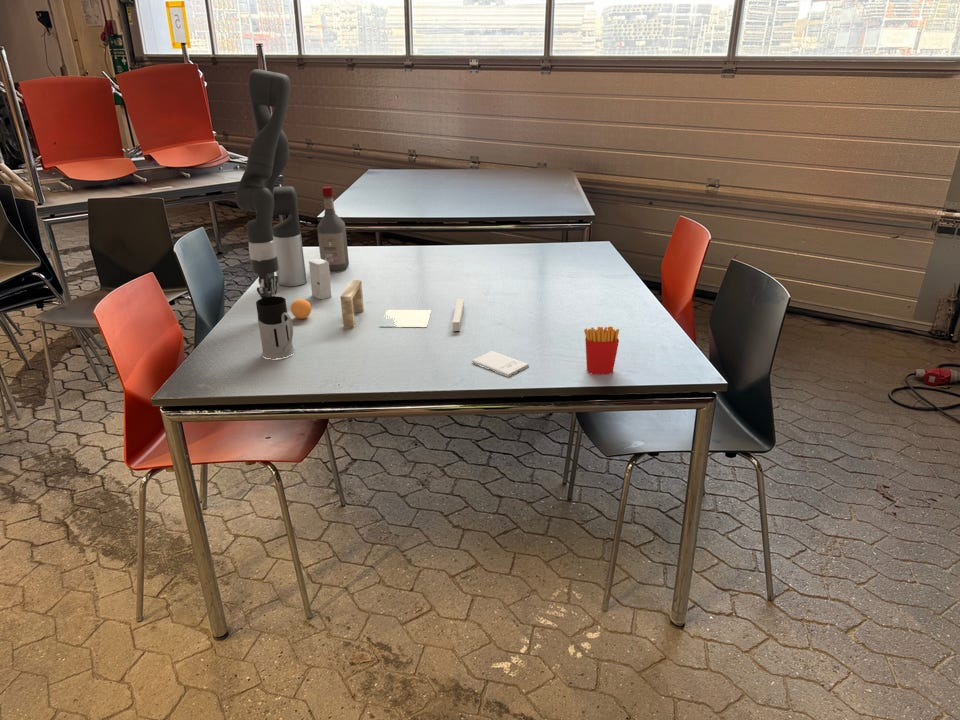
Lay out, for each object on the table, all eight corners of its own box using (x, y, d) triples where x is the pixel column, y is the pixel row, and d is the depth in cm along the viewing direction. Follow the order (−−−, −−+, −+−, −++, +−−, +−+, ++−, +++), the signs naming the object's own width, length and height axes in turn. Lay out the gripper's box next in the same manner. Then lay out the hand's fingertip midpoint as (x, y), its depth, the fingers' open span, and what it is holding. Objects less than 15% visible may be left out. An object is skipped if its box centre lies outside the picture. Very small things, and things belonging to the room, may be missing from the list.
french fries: (614, 367, 170) (617, 323, 164) (617, 374, 166) (620, 330, 161) (580, 367, 170) (583, 324, 164) (583, 374, 166) (586, 330, 161)
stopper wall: (452, 331, 192) (452, 322, 191) (457, 307, 210) (457, 298, 209) (459, 331, 192) (459, 322, 191) (464, 307, 210) (463, 298, 209)
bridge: (343, 327, 196) (340, 296, 192) (354, 309, 209) (351, 280, 205) (353, 327, 196) (350, 296, 191) (363, 309, 209) (361, 280, 205)
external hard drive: (492, 355, 178) (528, 368, 171) (471, 365, 173) (508, 379, 165) (492, 350, 178) (529, 363, 170) (471, 360, 172) (508, 373, 165)
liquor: (345, 272, 245) (337, 189, 232) (320, 272, 245) (311, 189, 233) (350, 264, 253) (342, 184, 241) (326, 264, 254) (317, 185, 241)
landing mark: (379, 327, 196) (379, 326, 196) (387, 310, 208) (387, 309, 208) (426, 327, 195) (426, 327, 195) (431, 310, 208) (431, 310, 208)
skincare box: (311, 295, 222) (307, 260, 217) (323, 292, 225) (319, 257, 219) (321, 300, 218) (317, 264, 213) (333, 296, 220) (329, 261, 215)
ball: (289, 321, 200) (287, 302, 198) (295, 314, 206) (293, 296, 203) (309, 321, 200) (306, 303, 198) (314, 314, 206) (312, 296, 203)
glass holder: (285, 344, 185) (278, 293, 179) (311, 359, 176) (304, 306, 169) (256, 353, 180) (247, 301, 173) (281, 369, 170) (273, 315, 164)
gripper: (258, 249, 201) (266, 303, 208) (242, 262, 189) (252, 318, 196) (282, 249, 201) (290, 303, 208) (268, 261, 189) (277, 318, 196)
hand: (271, 310), depth 202 cm, fingers closed
